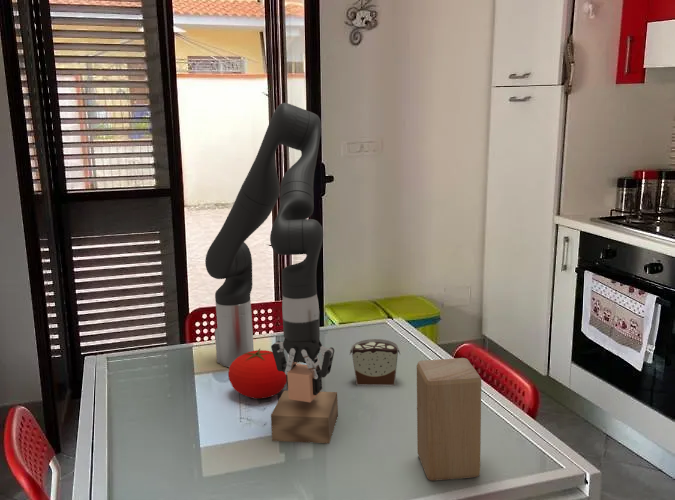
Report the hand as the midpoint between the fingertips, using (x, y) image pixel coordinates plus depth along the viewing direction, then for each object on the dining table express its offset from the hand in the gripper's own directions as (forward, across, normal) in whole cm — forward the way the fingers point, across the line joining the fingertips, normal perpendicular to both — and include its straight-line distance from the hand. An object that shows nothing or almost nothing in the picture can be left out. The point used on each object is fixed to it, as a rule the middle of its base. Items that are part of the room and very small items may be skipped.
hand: (304, 391), depth 140 cm
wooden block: (+9, +32, -5) cm, 34 cm away
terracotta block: (+1, 0, 0) cm, 1 cm away
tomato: (+9, -18, +12) cm, 23 cm away
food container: (+9, +6, +28) cm, 30 cm away
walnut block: (+9, 0, 0) cm, 9 cm away
